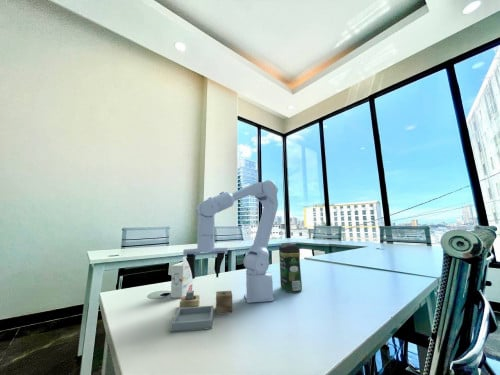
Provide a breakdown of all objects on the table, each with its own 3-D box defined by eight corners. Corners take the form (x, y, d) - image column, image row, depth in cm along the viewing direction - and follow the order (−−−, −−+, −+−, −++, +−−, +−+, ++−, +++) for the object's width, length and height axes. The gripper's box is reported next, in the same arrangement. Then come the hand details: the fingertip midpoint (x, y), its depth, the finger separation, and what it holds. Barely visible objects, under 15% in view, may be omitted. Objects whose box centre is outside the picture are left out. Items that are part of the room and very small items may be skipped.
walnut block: (231, 306, 69) (231, 290, 70) (232, 312, 64) (232, 295, 65) (216, 308, 68) (216, 291, 69) (215, 314, 63) (216, 296, 64)
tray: (213, 312, 64) (213, 305, 64) (212, 328, 54) (212, 320, 54) (178, 315, 62) (178, 308, 63) (171, 332, 52) (171, 323, 53)
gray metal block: (193, 306, 69) (194, 290, 70) (192, 309, 67) (193, 292, 68) (186, 307, 69) (187, 291, 69) (185, 309, 66) (186, 293, 67)
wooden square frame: (199, 304, 71) (199, 294, 72) (197, 310, 66) (198, 300, 66) (182, 305, 70) (182, 295, 71) (179, 312, 65) (179, 301, 65)
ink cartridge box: (181, 290, 86) (183, 254, 89) (192, 291, 85) (193, 254, 88) (169, 297, 78) (171, 257, 81) (181, 298, 77) (183, 257, 80)
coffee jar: (278, 286, 90) (276, 242, 93) (295, 285, 91) (293, 241, 94) (285, 293, 80) (283, 244, 84) (304, 292, 82) (302, 243, 85)
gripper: (226, 234, 76) (227, 273, 74) (186, 235, 74) (184, 275, 72) (227, 235, 69) (227, 278, 67) (182, 236, 67) (181, 281, 65)
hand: (205, 277), depth 69 cm, fingers open, 7 cm apart
